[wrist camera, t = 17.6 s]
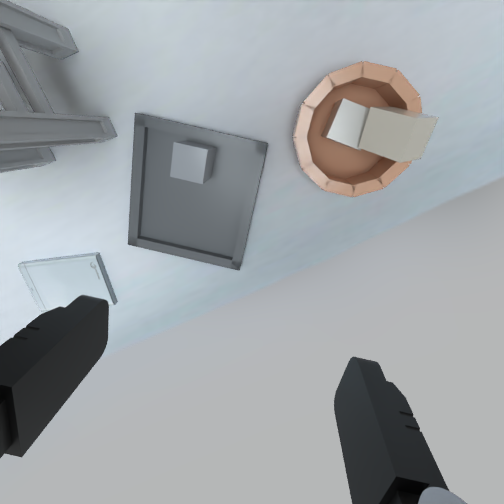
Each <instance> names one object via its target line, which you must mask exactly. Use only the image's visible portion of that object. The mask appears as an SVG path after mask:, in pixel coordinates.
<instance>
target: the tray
mask: <svg viewBox="0 0 504 504" xmlns="http://www.w3.org/2000/svg"><path fill="white" fill-rule="evenodd" d="M185 140H187V141H191V142H195V143H200V144H204V145H208V146H213V147H216V152H215V158H214V164H213V171H212V177H211V178H210V179H209V180H208V181H206V182H205V183H204V184H200V183H195V182H191V181H187V180H183V179H178V178H174V177H170V173H171V163H172V154H173V144H174V142H177V141H185ZM267 145H268V143H264V142H260V141H256V140H251V139H247V138H243V137H238V136H234V135H230V134H226V133H221V132H217V131H213V130H208V129H204V128H200V127H196V126H191V125H187V124H183V123H179V122H174V121H170V120H166V119H161V118H157V117H153V116H149V115H144V114H140V113H135V123H134V141H133V159H132V177H131V196H130V214H129V232H128V245H132V246H136V247H141V248H145V249H149V250H154V251H158V252H162V253H167V254H171V255H175V256H179V257H184V258H188V259H192V260H197V261H201V262H205V263H209V264H214V265H218V266H222V267H227V268H231V269H235V270H240V267H241V262H242V258H243V253H244V249H245V244H246V240H247V235H248V231H249V226H250V222H251V217H252V213H253V208H254V204H255V199H256V195H257V190H258V186H259V181H260V177H261V172H262V168H263V163H264V159H265V154H266V150H267Z"/></svg>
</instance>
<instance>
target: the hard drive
mask: <svg viewBox="0 0 504 504" xmlns="http://www.w3.org/2000/svg"><path fill="white" fill-rule="evenodd" d="M18 267H19V270H20V272H21V274H22V276H23V278H24V280H25V282H26V284H27V286H28V288H29V290H30V292H31V294H32V296H33V298H34V300H35V303H36V304H37V306H38V308H39V310H40V311H41V312H44V311H50V310H52V309H55V308H57V307H59V306H61V307H66V306H68V305H69V304H70V303H71V302H72V301H74V300H75V299H76V298H77V297H79V296H80V295H87V296H92V297H96V298H101V299H105V300H107V301H108V304H109V306H110V305H115V304H116V303H117V302H118V301H117V299H116V296H115V293H114V291H113V288H112V285H111V283H110V280H109V277H108V274H107V272H106V269H105V266H104V264H103V261H102V258H101V256H100V253H91V254H83V255H74V256H66V257H58V258H50V259H42V260H34V261H26V262H22V263H20V264H18Z"/></svg>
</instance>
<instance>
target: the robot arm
mask: <svg viewBox="0 0 504 504" xmlns="http://www.w3.org/2000/svg"><path fill="white" fill-rule="evenodd" d="M108 315H109V304H108V301H107V300H105V299H101V298H96V297H92V296H87V295H80V296H79V297H77V298H76V299H75V300H74V301H72V302H71V303H70V304H69V305H68V306H66V307H61V306H59V307H57V308H55V309H52V310H50V311H48V312H45V313H43V314H41V315H39V316H38V317H37V318H36V319H34V320H33V321H32V322H30V323H29V324H28V325H27V326H26V328H23V329H21V330H20V331H19V332H18V333H16V334H15V335H14V337H13V338H10V339H9V340H7V341H6V342H5V343H3V344H2V345H1V346H0V458H1V457H2V456H3V454H4V453H5V454H10V455H14V456H19V457H22V456H23V455H24V454H25V453H26V451H27V450H28V449H29V447H30V446H31V445H32V444H33V442H34V441H35V440H36V439H37V437H38V436H39V435H40V434H41V432H42V431H43V429H44V428H45V427H46V426H47V424H48V423H49V422H50V421H51V420H52V418H53V417H54V416H55V414H56V413H57V412H58V411H59V409H60V408H61V407H62V406H63V404H64V403H65V402H66V401H67V399H68V398H69V397H70V395H71V394H72V393H73V392H74V390H75V389H76V388H77V387H78V385H79V384H80V383H81V381H82V380H83V379H84V378H85V376H86V375H87V374H88V372H89V371H90V370H91V369H92V367H93V366H94V365H95V364H96V362H97V361H98V360H99V359H100V357H101V356H102V354H103V352H104V350H105V348H106V345H107V341H108ZM334 410H335V416H336V422H337V427H338V432H339V437H340V442H341V447H342V452H343V458H344V462H345V468H346V473H347V479H348V484H349V489H350V494H351V499H352V504H467V503H466V502H464V501H463V500H462V499H461V498H459V497H458V496H456V495H455V494H453V493H452V492H450V491H449V489H448V488H447V486H446V484H445V481H444V479H443V477H442V475H441V473H440V470H439V468H438V466H437V464H436V462H435V460H434V458H433V455H432V453H431V451H430V449H429V447H428V445H427V443H426V440H425V438H424V436H423V434H422V432H420V428H419V426H418V423H417V421H416V419H415V418H414V417H413V413H412V410H411V408H410V406H409V404H408V402H407V400H406V398H405V397H404V395H403V394H402V393H401V392H400V391H399V390H398V388H397V387H396V386H395V385H394V384H393V383H392V382H388V381H386V379H385V377H384V374H383V372H382V369H381V367H380V365H379V364H378V363H377V362H375V361H371V360H366V359H362V358H357V357H352V358H351V359H350V361H349V363H348V365H347V367H346V370H345V372H344V374H343V376H342V379H341V381H340V384H339V386H338V388H337V390H336V394H335V400H334Z"/></svg>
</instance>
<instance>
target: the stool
mask: <svg viewBox="0 0 504 504" xmlns="http://www.w3.org/2000/svg"><path fill="white" fill-rule="evenodd" d="M20 47H23V48H26V49H29V50H32V51H35V52H39V53H42V54H45V55H48V56H51V57H55V58H58V59H61V60H62V59H64V58H66V57H68V56H70V55H72V54H74V53H77V52H78V49H77V47H76V45H75V43H74V41H73V38H72V36H71V34H70V32H69V30H68V29H67V28H65V27H63V26H61V25H59V24H56V23H54V22H52V21H50V20H48V19H46V18H44V17H41V16H39V15H37V14H35V13H33V12H31V11H29V10H27V9H24V8H22V7H20V6H18V5H16V4H14V3H12V2H10V1H7V0H0V49H1V51H2V53H3V54H4V56H5V58H6V60H7V62H8V64H9V66H10V68H11V69H12V71H13V73H14V75H15V77H16V79H17V81H18V83H19V84H20V86H21V88H22V90H23V92H24V94H25V96H26V97H27V99H28V101H29V103H30V105H31V107H32V109H33V111H34V112H29V111H28V110H27V108H26V106H25V104H24V102H23V100H22V98H21V97H20V95H19V93H18V91H17V89H16V87H15V86H14V84H13V80H12V78H11V76H10V75H9V73H8V71H7V69H6V67H5V65H4V63H3V62H2V61H1V60H0V101H1V103H2V105H3V107H4V109H5V110H6V111H4V110H0V173H2V172H8V171H14V170H21V169H27V168H33V167H40V166H43V165H46V164H48V163H51V162H53V161H56V160H55V158H54V156H53V154H52V152H51V150H50V148H49V147H50V146H63V145H76V144H89V143H101V142H104V141H106V140H109V139H111V138H114V137H117V134H116V132H115V130H114V128H113V126H112V123H111V121H110V119H109V117H96V116H80V115H65V114H54V112H53V110H52V108H51V106H50V104H49V102H48V100H47V98H46V97H45V95H44V93H43V91H42V89H41V87H40V85H39V83H38V81H37V79H36V77H35V75H34V73H33V71H32V69H31V67H30V65H29V64H28V62H27V60H26V58H25V56H24V54H23V52H22V50H21V48H20Z"/></svg>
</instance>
